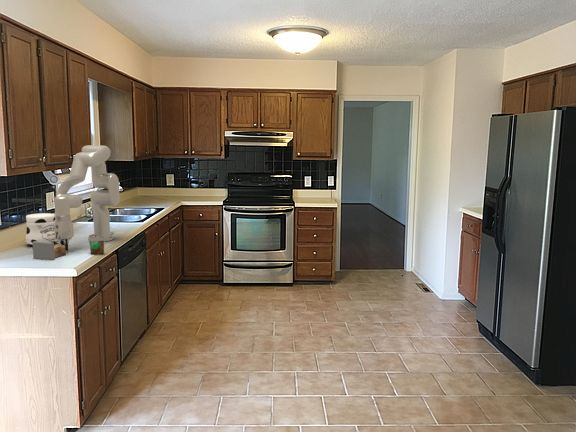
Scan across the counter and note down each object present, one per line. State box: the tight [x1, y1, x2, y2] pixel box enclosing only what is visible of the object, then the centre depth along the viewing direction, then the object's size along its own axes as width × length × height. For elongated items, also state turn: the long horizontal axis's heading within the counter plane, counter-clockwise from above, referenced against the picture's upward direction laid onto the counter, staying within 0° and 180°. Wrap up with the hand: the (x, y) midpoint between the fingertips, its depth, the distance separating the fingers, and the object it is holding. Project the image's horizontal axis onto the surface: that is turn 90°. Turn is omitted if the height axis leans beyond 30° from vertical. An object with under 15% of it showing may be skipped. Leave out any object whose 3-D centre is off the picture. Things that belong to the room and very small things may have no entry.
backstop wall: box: [32, 241, 56, 261], centre depth 251 cm, size 2×12×9 cm, turn 74°
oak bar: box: [54, 244, 67, 252], centre depth 259 cm, size 10×4×5 cm, turn 165°
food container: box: [87, 233, 105, 256], centre depth 265 cm, size 12×6×10 cm, turn 45°
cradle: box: [54, 247, 67, 259], centre depth 258 cm, size 9×8×4 cm
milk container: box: [25, 212, 58, 247], centre depth 285 cm, size 17×17×18 cm
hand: (65, 250), depth 267 cm, fingers closed
